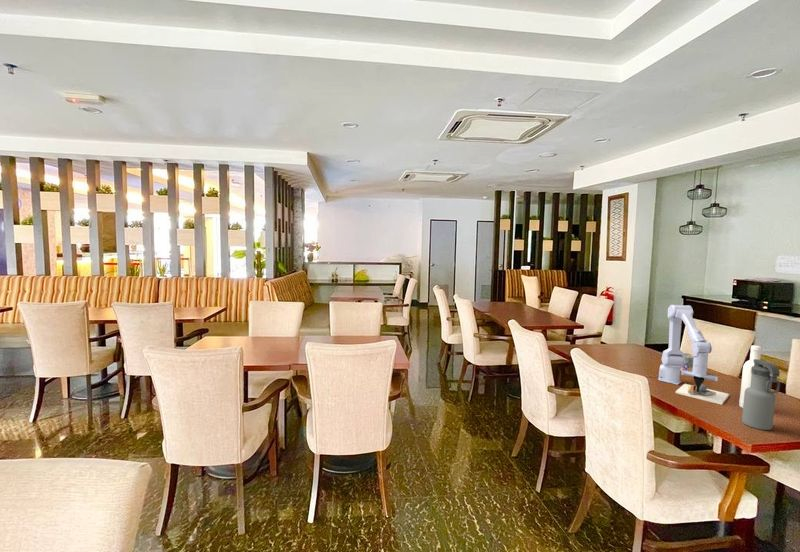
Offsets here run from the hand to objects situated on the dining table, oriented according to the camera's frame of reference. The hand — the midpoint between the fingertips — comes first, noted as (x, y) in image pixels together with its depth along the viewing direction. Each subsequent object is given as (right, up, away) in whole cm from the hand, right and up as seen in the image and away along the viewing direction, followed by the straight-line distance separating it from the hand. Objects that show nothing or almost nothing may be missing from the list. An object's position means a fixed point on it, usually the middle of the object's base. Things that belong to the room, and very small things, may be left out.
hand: (697, 391), depth 200 cm
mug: (+24, 0, +42) cm, 49 cm away
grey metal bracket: (+3, -2, +4) cm, 5 cm away
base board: (+6, -3, +5) cm, 8 cm away
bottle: (+16, -5, -11) cm, 20 cm away
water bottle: (+2, -6, -31) cm, 31 cm away
